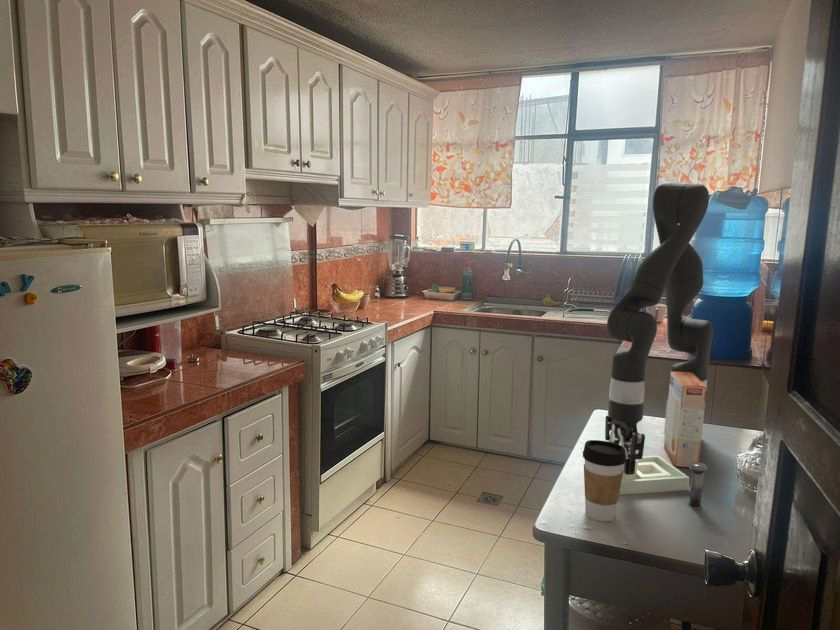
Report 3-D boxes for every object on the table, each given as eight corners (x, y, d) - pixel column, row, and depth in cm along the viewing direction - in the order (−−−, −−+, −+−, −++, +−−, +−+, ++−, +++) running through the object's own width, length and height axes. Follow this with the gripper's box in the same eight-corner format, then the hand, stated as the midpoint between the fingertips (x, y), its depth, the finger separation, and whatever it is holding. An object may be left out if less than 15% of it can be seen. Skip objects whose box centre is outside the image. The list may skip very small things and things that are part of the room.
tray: (590, 471, 147) (590, 459, 146) (657, 467, 150) (658, 455, 149) (615, 495, 134) (616, 482, 134) (688, 490, 137) (689, 477, 137)
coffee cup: (575, 504, 130) (579, 437, 127) (615, 505, 130) (620, 438, 127) (584, 524, 122) (588, 453, 119) (627, 525, 121) (632, 454, 119)
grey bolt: (683, 502, 132) (687, 462, 130) (697, 500, 132) (700, 461, 131) (692, 509, 128) (696, 468, 127) (706, 508, 129) (710, 467, 127)
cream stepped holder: (652, 469, 147) (654, 449, 146) (670, 483, 139) (672, 462, 138) (604, 473, 144) (605, 452, 143) (620, 487, 137) (621, 465, 136)
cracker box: (700, 469, 148) (708, 386, 145) (673, 467, 149) (681, 384, 146) (687, 448, 162) (694, 371, 158) (663, 446, 163) (669, 370, 159)
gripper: (659, 407, 131) (653, 480, 134) (626, 388, 145) (621, 454, 148) (626, 408, 130) (621, 482, 133) (596, 389, 144) (592, 456, 147)
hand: (621, 467), depth 141 cm, fingers open, 6 cm apart
